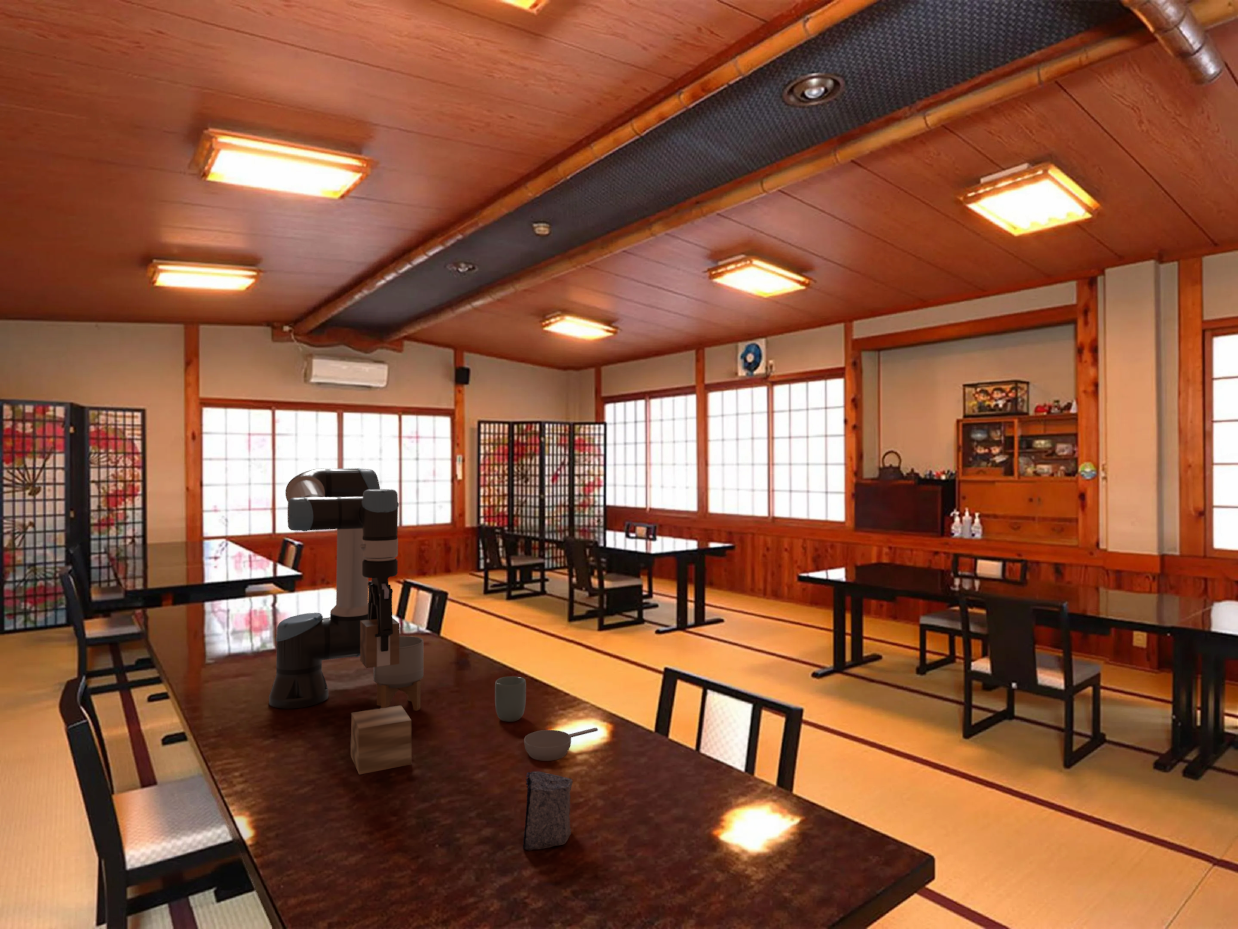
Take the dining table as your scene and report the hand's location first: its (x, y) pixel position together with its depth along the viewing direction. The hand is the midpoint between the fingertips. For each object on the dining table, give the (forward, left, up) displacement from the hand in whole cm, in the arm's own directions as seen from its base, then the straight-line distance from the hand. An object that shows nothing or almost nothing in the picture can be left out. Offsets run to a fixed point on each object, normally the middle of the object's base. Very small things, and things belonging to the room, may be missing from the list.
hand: (379, 661), depth 162 cm
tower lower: (0, 0, -22) cm, 22 cm away
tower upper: (0, 0, -17) cm, 17 cm away
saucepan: (+32, +25, -22) cm, 47 cm away
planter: (-23, +27, -22) cm, 42 cm away
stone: (+52, -9, -22) cm, 57 cm away
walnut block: (0, 0, 0) cm, 0 cm away
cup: (+9, +35, -22) cm, 43 cm away
